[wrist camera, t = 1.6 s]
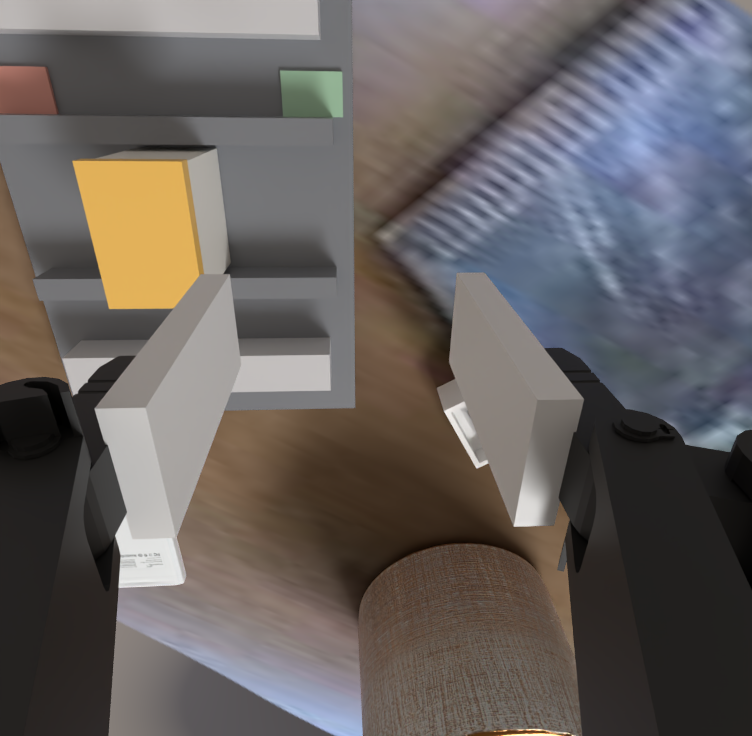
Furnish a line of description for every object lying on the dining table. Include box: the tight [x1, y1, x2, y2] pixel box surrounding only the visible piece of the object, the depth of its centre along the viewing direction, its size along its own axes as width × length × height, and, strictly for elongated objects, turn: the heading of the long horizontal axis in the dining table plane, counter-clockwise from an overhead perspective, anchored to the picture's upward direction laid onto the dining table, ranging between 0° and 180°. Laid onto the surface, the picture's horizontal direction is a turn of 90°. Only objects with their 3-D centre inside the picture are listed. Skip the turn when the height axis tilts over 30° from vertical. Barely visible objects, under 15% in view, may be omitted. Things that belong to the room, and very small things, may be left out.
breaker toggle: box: [72, 148, 231, 309], centre depth 25 cm, size 4×6×7 cm
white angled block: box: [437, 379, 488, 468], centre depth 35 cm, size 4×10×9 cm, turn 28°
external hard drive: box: [115, 516, 186, 588], centre depth 42 cm, size 2×8×12 cm
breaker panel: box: [0, 0, 355, 410], centre depth 28 cm, size 18×26×5 cm
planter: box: [358, 543, 582, 736], centre depth 42 cm, size 18×18×16 cm
